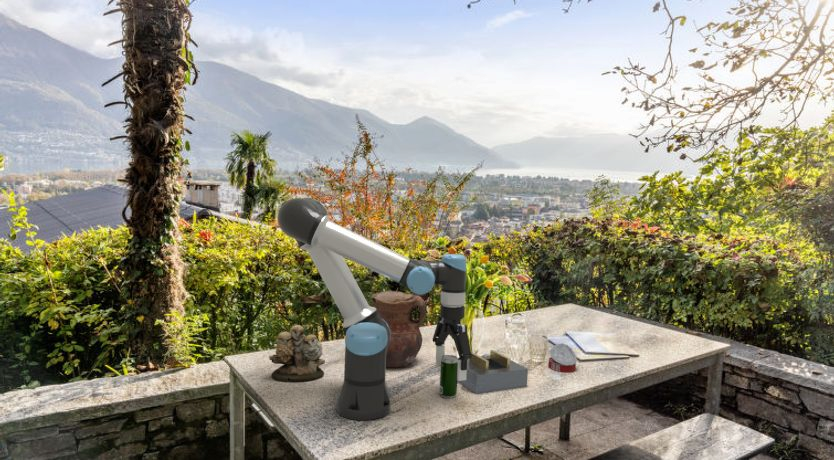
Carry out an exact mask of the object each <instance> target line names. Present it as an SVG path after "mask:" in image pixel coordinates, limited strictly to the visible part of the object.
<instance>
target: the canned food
mask: <svg viewBox="0 0 834 460" xmlns="http://www.w3.org/2000/svg"><path fill="white" fill-rule="evenodd" d="M549 353H550V357H549V358H548V365H547V367H548V369H549V370H551V371H554V372H558V373H564V374H565V373H567V374H569V373H573V372H576V364H577V361H578V360H577V355H576V353H575V351H574V350H573V349H572V347H570V346H569V345H568V344H564V343H557V344H555V345H554V346H552V348H551V349H550V352H549Z"/></svg>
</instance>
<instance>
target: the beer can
mask: <svg viewBox="0 0 834 460" xmlns="http://www.w3.org/2000/svg"><path fill="white" fill-rule="evenodd" d="M458 358H459V357H458V356H456V355H453V354H444V356H442V359H441V366H440V372H439V389H438V391H439V395H440V397H442V398H444V399H454V398H455V397H456V396H457V392H458V382H457V368H458Z"/></svg>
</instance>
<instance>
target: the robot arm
mask: <svg viewBox="0 0 834 460" xmlns="http://www.w3.org/2000/svg"><path fill="white" fill-rule="evenodd" d="M277 224H278V226H279V228H280V230H281V231H282V232H283V233H284V235H286V236H288V237H289V238H292V239H294V240H295V241H296V243H297V246H298V247H299V248H300V250H304V251H306V252H307V253H308V255H309V256H310V258H311V260H312V262H313V263H314V265H315V268H316V269H317V271H318V274H319V275H320V277H321V278H322V280H323V282H324V284H325V286H326V288H327V290H328V291H329V293H330V295H331V298H332V299H333V301H334V303H335V305H336V306H337V308H338V310H339V312H340V314H341V315H342V317H343V324H342V328H343V330H344V332H345V337H344V345H345V349H344V369H343V370H344V372H343V375H344V376H343V383H342V386H341V389H340V391H339V395H338V396H337V400H336V412H337V414H339V415H340V416H341V417H344V418H347V419H350V420H356V421H371V419H373V420H378V419H381V418H383V417H385V416H387V415H388V414H389V413H390V412H391V399H390V395H389V392H388V388H387V384H386V374H387V372H386V371H387V367H386V356H387V350H388V347H389V344H390V341H391V333H390V328H389V326H388V324H387V323H386V322H385V321H384V320H383V319H382V318H381V317H380V315H379V313H378V311H377V309H376V307H373V306H371V305H369V303H368V301H367V300H366V298H365V296H364V294H363V292H362V290H361V288H360V287H359V285H358V282H357V280H356V278H355V277H354V275H353V274H352V272H351V270H350V267H349V265H348V263H347V262H346V260H345V259H347V260H350V261H351V262H354V263H355V264H358V265H360V266H362V267H364V268H367V269H368V270H371V271H373V272H375V273H377V274H379V275H382V276H383V277H385V278H387V279H390V280H392V281H394V282H396V283H399V284H400V285H402V286H404V287H406V288H408V289H409V290H410V291H411V293H412V294H413V293H414V295H415V294H416V295H418V296H420V295H421V296H422V295H425V294H428V293H429V292H430V291H431V290H432V289H433V288H434V286H440V304H441V305H440V308H439V309H440V310H439V312H440V313H439V316H437V324H436V327H435V330H434V333H433V337H432V342H433V343H434V345H435V367H436V368H437V367H439V368H440V367H441V359H442V356H444V355H446V354H445V352H446V350H445V347H446V346H445V345H446V344H445V342H446V340H447V338H448V337H449V336H450V337H451V339H453V342H454V345H455V348H456V351H457V355H458V356H459V357H458V368H457V381H462V380H466V372H467V360H468V359H471V358H472V354H471V352H472V350H471V345H470V340H469V334H468V325H467V324H462V319H464V318H465V313H466V310H465V309H466V307H465V304H466V295H467V294H466V289H467V288H466V287H467V286H466V283H467V270H468V269H467V258H466V256H465V255H463V254H458V253H457V254H456V253H446V254H443V255H442V256H441V259H440V260H426V259H425V260H422V259H418V260H417V259H411V258H409V257H407V256H405V255H403V254H401V253H398V252H397V251H394V250H392V249H390V248H388V247H386V246H384V245H382V244H379V243H378V242H375V241H374V240H371V239H369V238H367V237H366V236H364V235H363V236H362V235H360V234H359V233H357V232H354V231H353V230H350V229H349V228H346V227H344V226H341V225H339V224H337V222H334V221H331V220H330V218H329V213H328V212H327V208H326V207H325V206H324V205H323V203H321V202H320V201H318V200H316V199H314V198H309V197H304V198H302V197H299V198H298V197H295V198H291V199H289V200H287V201H285V202H284V203H283V204H282V205H281V206H280V208H279V210H278V213H277ZM344 258H345V259H344ZM377 418H378V419H377Z"/></svg>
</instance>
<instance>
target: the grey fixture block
mask: <svg viewBox="0 0 834 460" xmlns="http://www.w3.org/2000/svg"><path fill="white" fill-rule="evenodd" d="M471 354H472V358H471V359H468V360H467V372H466V380H462V381H457V383H458V384H460V385H462V386H463V387H465V388H467V389H468V390H469V391H471V392H473V393H474V394H475V395H479V394H486V393H491V392H492V393H493V392H497V391H506V390H511V389H519V388H520V389H521V388H524V387H528V375H529V374H528V373H529V368H528V367H525V366H524V365H521V364H519V363H517V362H515V361H513V360H511V358H509V357H508V356H506V355H503V354H502V353H501V352H498V351H496V350H494V349H490V352H489V354H483V355H481V356H480V355H478V354H477V353H474V352H472V351H471Z"/></svg>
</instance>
